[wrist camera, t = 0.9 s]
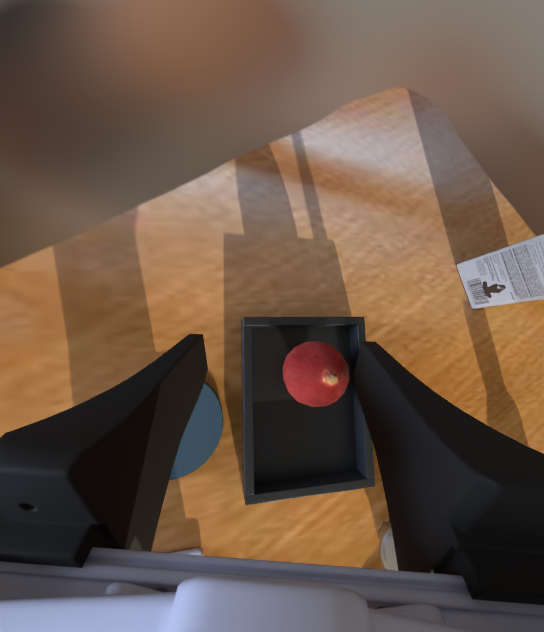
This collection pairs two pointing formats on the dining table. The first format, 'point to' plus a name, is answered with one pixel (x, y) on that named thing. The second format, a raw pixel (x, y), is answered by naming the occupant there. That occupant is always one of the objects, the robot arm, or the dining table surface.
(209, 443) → the mat
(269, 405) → the tray
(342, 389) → the onion
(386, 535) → the screw
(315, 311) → the dining table surface
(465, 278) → the coffee box
